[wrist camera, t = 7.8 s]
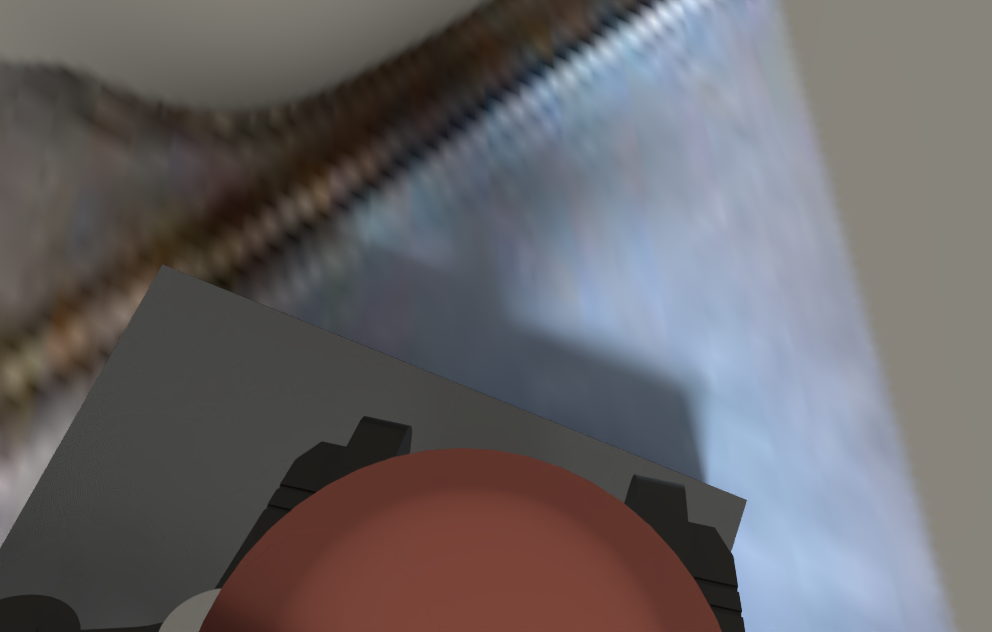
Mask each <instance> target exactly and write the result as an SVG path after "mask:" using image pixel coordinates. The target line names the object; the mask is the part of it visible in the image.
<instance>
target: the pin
mask: <svg viewBox="0 0 992 632" xmlns="http://www.w3.org/2000/svg"><path fill="white" fill-rule="evenodd" d="M199 632H722V631H721V629H720V626H719V624H718V621H717V619H716V617H715V615H714V613H713V611H712V609H711V608H710V606H709V604H708V602H707V600H706V598H705V597H704V595H703V593H702V591H701V589H700V588H699V586H698V584H697V583H696V581H695V580H694V578H693V577H692V576H691V574H690V573H689V571H688V570H687V569H686V567H685V566H684V564H683V563H682V562H681V560H680V559H679V557H678V556H677V555H676V553H675V552H674V551H673V550H672V549H671V548H670V547H669V546H668V544H667V543H666V542H665V541H664V540H663V539H662V538H661V537H660V536H659V535H658V534H657V532H656V531H655V530H654V529H653V528H652V527H651V526H650V525H649V524H648V523H647V522H645V521H644V520H643V519H642V518H641V517H640V516H638V515H637V514H636V513H635V512H634V511H632V510H631V509H630V508H629V507H628V506H627V505H625V504H624V503H623V502H622V501H620V500H619V499H617V498H616V497H614V496H613V495H611V494H609V493H608V492H606V491H605V490H603V489H602V488H600V487H599V486H597V485H596V484H594V483H593V482H591V481H588V480H586V479H584V478H582V477H580V476H578V475H576V474H574V473H572V472H570V471H568V470H566V469H564V468H562V467H559V466H556V465H553V464H550V463H547V462H544V461H541V460H538V459H535V458H532V457H529V456H524V455H519V454H513V453H508V452H503V451H498V450H488V449H471V448H453V449H439V450H426V451H421V452H416V453H412V454H407V455H402V456H397V457H392V458H390V459H387V460H384V461H381V462H378V463H375V464H372V465H369V466H366V467H363V468H361V469H358V470H356V471H354V472H352V473H350V474H348V475H346V476H344V477H342V478H340V479H338V480H336V481H334V482H332V483H330V484H328V485H327V486H325V487H324V488H322V489H321V490H319V491H318V492H316V493H315V494H313V495H312V496H310V497H309V498H307V499H306V500H304V501H302V502H301V503H299V504H298V505H297V506H296V507H295V508H293V509H292V510H291V511H290V512H289V513H288V514H286V515H285V516H284V517H283V518H282V519H280V520H279V521H278V522H277V523H276V524H275V525H273V526H272V527H271V528H270V529H269V530H268V531H267V532H266V533H265V535H264V536H263V537H262V538H261V539H260V540H259V541H258V542H257V543H256V544H255V545H254V546H253V548H252V549H251V550H250V551H249V552H248V553H247V554H246V555H245V556H244V558H243V559H242V561H241V562H240V563H239V565H238V566H237V567H236V569H235V570H234V572H233V573H232V574H231V576H230V577H229V579H228V580H227V581H226V583H225V584H224V585H223V587H222V589H221V590H220V592H219V594H218V596H217V597H216V599H215V601H214V603H213V605H212V606H211V608H210V610H209V612H208V614H207V615H206V617H205V619H204V621H203V623H202V625H201V628H200V630H199Z"/></svg>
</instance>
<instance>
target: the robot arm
mask: <svg viewBox="0 0 992 632" xmlns="http://www.w3.org/2000/svg"><path fill="white" fill-rule="evenodd" d="M411 440H412V426H410V425H405V424H401V423H396V422H391V421H387V420H382V419H378V418H373V417H368V416H364V417H363V418H362V419H361V420H360V422H359V424H358V426H357V427H356V429H355V431H354V433H353V435H352V437H351V439H350V440H349V442H348V444H347V446H341V445H337V444H332V443H328V442H323V441H321V442H320V443H318V444H317V445H316V446H314V447H313V448H311V449H310V450H308V451H307V452H305V453H304V454H302V455H301V456H299V457H298V458H296V459H295V461H294V462H293V464H292V465H291V467H290V469H289V470H288V472H287V473H286V475H285V477H284V478H283V480H282V481H281V483H280V487H279V489H276V491H275V493H274V494H273V496H272V497H271V499H270V501H269V502H268V505H267V508H266V509H264V510H263V512H262V514H261V515H260V517H259V518H258V520H257V522H256V523H255V525H254V526H253V528H252V530H251V531H250V533H249V534H248V536H247V538H246V539H245V541H244V542H243V544H242V546H241V547H240V549H239V550H238V552H237V554H236V555H235V557H234V558H233V560H232V562H231V563H230V565H229V567H228V568H227V570H226V571H225V573H224V575H223V576H222V578H221V579H220V581H219V583H218V584H217V586H216V587H215V588H214V590H210V591H207V592H204V593H201V594H198V595H196V596H194V597H192V598H190V599H188V600H187V601H185V602H183V603H182V604H181V605H179V606H178V607H177V608H176V609H175V610H174V611H173V612H172V613H170V614H169V616H168V617H167V618H166V620H165V621H164V622H161V623H157V624H153V625H148V626H139V627H124V628H105V629H87V630H81V625H80V622H79V618H78V616H77V614H76V613H75V611H74V610H73V609H72V608H71V607H70V606H69V605H68V604H66V603H65V602H63V601H61V600H59V599H56V598H53V597H50V596H45V595H32V594H29V595H17V596H12V597H7V598H3V599H0V632H199V630H200V628H201V625H202V623H203V621H204V619H205V617H206V615H207V614H208V612H209V610H210V608H211V606H212V605H213V603H214V601H215V599H216V597H217V596H218V594H219V592H220V590H221V589H222V587H223V585H224V584H225V583H226V581H227V580H228V579H229V577H230V576H231V574H232V573H233V572H234V570H235V569H236V567H237V566H238V565H239V563H240V562H241V561H242V559H243V558H244V556H245V555H246V554H247V553H248V552H249V551H250V550H251V549H252V548H253V546H254V545H255V544H256V543H257V542H258V541H259V540H260V539H261V538H262V537H263V536H264V535H265V533H266V532H267V531H268V530H269V529H270V528H271V527H272V526H273V525H275V524H276V523H277V522H278V521H279V520H280V519H282V518H283V517H284V516H285V515H286V514H288V513H289V512H290V511H291V510H292V509H293V508H295V507H296V506H297V505H298V504H299V503H301V502H302V501H304V500H306V499H307V498H309V497H310V496H312V495H313V494H315V493H316V492H318V491H319V490H321V489H322V488H324V487H325V486H327V485H328V484H330V483H332V482H334V481H336V480H338V479H340V478H342V477H344V476H346V475H348V474H350V473H352V472H354V471H356V470H358V469H361V468H363V467H366V466H369V465H372V464H375V463H378V462H381V461H384V460H387V459H390V458H392V457H397V456H402V455H407V454H410V449H411ZM624 504H625V505H627V506H628V507H629V508H630V509H631V510H632V511H634V512H635V513H636V514H637V515H638V516H640V517H641V518H642V519H643V520H644V521H645V522H647V523H648V524H649V525H650V526H651V527H652V528H653V529H654V530H655V531H656V532H657V534H658V535H659V536H660V537H661V538H662V539H663V540H664V541H665V542H666V543H667V544H668V546H669V547H670V548H671V549H672V550H673V551H674V552H675V553H676V555H677V556H678V557H679V559H680V560H681V562H682V563H683V564H684V566H685V567H686V569H687V570H688V571H689V573H690V574H691V576H692V577H693V578H694V580H695V581H696V583H697V584H698V586H699V588H700V589H701V591H702V593H703V595H704V597H705V598H706V600H707V602H708V604H709V606H710V608H711V609H712V611H713V613H714V615H715V617H716V619H717V621H718V624H719V626H720V629H721V631H722V632H745V628H744V621H743V617H741V612H742V608H741V602H740V596H739V592H737V588H738V583H737V577H736V570H735V564H734V557H733V555H732V553H731V552H730V550H729V549H728V547H727V546H726V544H725V543H724V541H723V539H722V538H721V536H720V535H719V533H718V532H717V530H716V528H715V527H711V526H706V525H702V524H697V523H692V522H688V512H687V501H686V491H685V486H684V485H682V484H678V483H673V482H669V481H664V480H659V479H655V478H650V477H645V476H641V475H636V474H634V475H633V477H632V479H631V482H630V485H629V488H628V492H627V495H626V499H625V502H624Z"/></svg>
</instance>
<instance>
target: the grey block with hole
mask: <svg viewBox="0 0 992 632" xmlns="http://www.w3.org/2000/svg"><path fill="white" fill-rule="evenodd" d="M364 416H368V417H373V418H378V419H382V420H387V421H391V422H396V423H401V424H405V425H410V426H412V440H411V449H410V454H412V453H416V452H421V451H426V450H439V449H453V448H471V449H488V450H498V451H503V452H508V453H513V454H519V455H524V456H529V457H532V458H535V459H538V460H541V461H544V462H547V463H550V464H553V465H556V466H559V467H562V468H564V469H566V470H568V471H570V472H572V473H574V474H576V475H578V476H580V477H582V478H584V479H586V480H588V481H591V482H593V483H594V484H596V485H597V486H599V487H600V488H602V489H603V490H605V491H606V492H608V493H609V494H611V495H613V496H614V497H616V498H617V499H619V500H620V501H622V502H623V503H624V502H625V499H626V495H627V492H628V488H629V485H630V482H631V479H632V477H633V475H634V474H636V475H641V476H645V477H650V478H655V479H659V480H664V481H669V482H673V483H678V484H682V485H684V486H685V491H686V501H687V512H688V522H692V523H697V524H702V525H706V526H711V527H715V528H716V530H717V532H718V533H719V535H720V536H721V538H722V539H723V541H724V543H725V544H726V546H727V547H728V549H729V550H730V552H731V550H732V547H733V544H734V540H735V537H736V534H737V531H738V527H739V524H740V521H741V518H742V514H743V511H744V508H745V505H746V501H747V500H745V499H743V498H740V497H738V496H735V495H733V494H730V493H728V492H725V491H723V490H720V489H718V488H716V487H713V486H711V485H708V484H706V483H703V482H701V481H698V480H696V479H693V478H691V477H688V476H686V475H683V474H681V473H678V472H676V471H673V470H671V469H668V468H666V467H663V466H661V465H659V464H656V463H654V462H651V461H649V460H646V459H644V458H641V457H639V456H636V455H634V454H631V453H629V452H626V451H624V450H621V449H619V448H616V447H614V446H611V445H609V444H606V443H604V442H601V441H599V440H597V439H594V438H592V437H589V436H587V435H584V434H582V433H579V432H577V431H574V430H572V429H569V428H567V427H564V426H562V425H559V424H557V423H554V422H552V421H549V420H547V419H544V418H542V417H540V416H537V415H535V414H532V413H530V412H527V411H525V410H522V409H520V408H517V407H515V406H512V405H510V404H507V403H505V402H502V401H500V400H497V399H495V398H492V397H490V396H487V395H485V394H483V393H480V392H478V391H475V390H473V389H470V388H468V387H465V386H463V385H460V384H458V383H455V382H453V381H450V380H448V379H445V378H443V377H440V376H438V375H435V374H433V373H430V372H428V371H425V370H423V369H421V368H418V367H416V366H413V365H411V364H408V363H406V362H403V361H401V360H398V359H396V358H393V357H391V356H388V355H386V354H383V353H381V352H378V351H376V350H373V349H371V348H368V347H366V346H364V345H361V344H359V343H356V342H354V341H351V340H349V339H346V338H344V337H341V336H339V335H336V334H334V333H331V332H329V331H326V330H324V329H321V328H319V327H316V326H314V325H311V324H309V323H307V322H304V321H302V320H299V319H297V318H294V317H292V316H289V315H287V314H284V313H282V312H279V311H277V310H274V309H272V308H269V307H267V306H264V305H262V304H259V303H257V302H254V301H252V300H249V299H247V298H245V297H242V296H240V295H237V294H235V293H232V292H230V291H227V290H225V289H222V288H220V287H217V286H215V285H212V284H210V283H207V282H205V281H202V280H200V279H197V278H195V277H192V276H190V275H188V274H185V273H183V272H180V271H178V270H175V269H173V268H170V267H168V266H165V265H162V266H161V268H160V270H159V272H158V273H157V275H156V277H155V279H154V280H153V282H152V284H151V286H150V287H149V289H148V291H147V293H146V294H145V296H144V298H143V300H142V301H141V303H140V305H139V307H138V308H137V310H136V312H135V314H134V315H133V317H132V319H131V321H130V322H129V324H128V326H127V328H126V329H125V331H124V333H123V335H122V336H121V338H120V340H119V342H118V343H117V345H116V347H115V349H114V350H113V352H112V354H111V356H110V357H109V359H108V361H107V363H106V364H105V366H104V368H103V370H102V371H101V373H100V375H99V377H98V378H97V380H96V382H95V384H94V385H93V387H92V389H91V391H90V392H89V394H88V396H87V398H86V399H85V401H84V403H83V405H82V406H81V408H80V410H79V412H78V413H77V415H76V417H75V419H74V420H73V422H72V424H71V426H70V427H69V429H68V431H67V433H66V434H65V436H64V438H63V440H62V441H61V443H60V445H59V447H58V448H57V450H56V452H55V454H54V455H53V457H52V459H51V461H50V462H49V464H48V466H47V468H46V469H45V471H44V473H43V475H42V476H41V478H40V480H39V482H38V483H37V485H36V487H35V489H34V490H33V492H32V494H31V496H30V497H29V499H28V501H27V503H26V504H25V506H24V508H23V510H22V511H21V513H20V515H19V517H18V518H17V520H16V522H15V524H14V525H13V527H12V529H11V531H10V532H9V534H8V536H7V538H6V539H5V541H4V543H3V545H2V546H1V548H0V599H3V598H7V597H12V596H17V595H29V594H32V595H45V596H50V597H53V598H56V599H59V600H61V601H63V602H65V603H66V604H68V605H69V606H70V607H71V608H72V609H73V610H74V611H75V613H76V614H77V616H78V618H79V622H80V625H81V630H87V629H105V628H124V627H139V626H148V625H153V624H157V623H161V622H164V621H165V620H166V618H167V617H168V616H169V614H170V613H172V612H173V611H174V610H175V609H176V608H177V607H178V606H179V605H181V604H182V603H183V602H185V601H187V600H188V599H190V598H192V597H194V596H196V595H198V594H201V593H204V592H207V591H210V590H214V588H215V587H216V586H217V584H218V583H219V581H220V579H221V578H222V576H223V575H224V573H225V571H226V570H227V568H228V567H229V565H230V563H231V562H232V560H233V558H234V557H235V555H236V554H237V552H238V550H239V549H240V547H241V546H242V544H243V542H244V541H245V539H246V538H247V536H248V534H249V533H250V531H251V530H252V528H253V526H254V525H255V523H256V522H257V520H258V518H259V517H260V515H261V514H262V512H263V510H264V509H266V508H267V505H268V502H269V501H270V499H271V497H272V496H273V494H274V493H275V491H276V489H279V487H280V483H281V481H282V480H283V478H284V477H285V475H286V473H287V472H288V470H289V469H290V467H291V465H292V464H293V462H294V461H295V459H296V458H298V457H299V456H301V455H302V454H304V453H305V452H307V451H308V450H310V449H311V448H313V447H314V446H316V445H317V444H318V443H320V442H321V441H323V442H328V443H332V444H337V445H341V446H347V444H348V442H349V440H350V439H351V437H352V435H353V433H354V431H355V429H356V427H357V426H358V424H359V422H360V420H361V419H362V418H363V417H364Z"/></svg>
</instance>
